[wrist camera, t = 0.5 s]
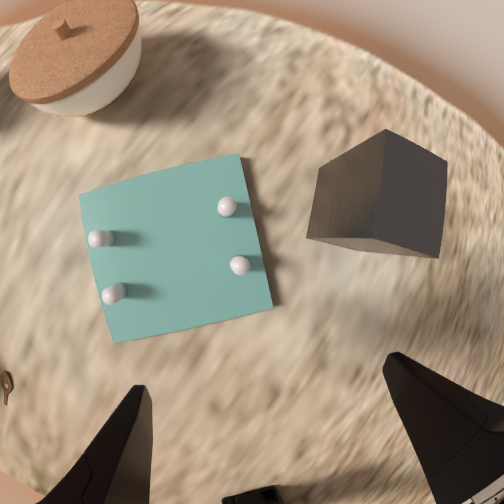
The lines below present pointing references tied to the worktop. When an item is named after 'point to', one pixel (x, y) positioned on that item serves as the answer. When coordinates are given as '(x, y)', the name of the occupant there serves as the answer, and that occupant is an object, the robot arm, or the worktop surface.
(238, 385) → the worktop surface
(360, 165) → the plate
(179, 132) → the worktop surface
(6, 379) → the place setting
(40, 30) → the lidded jar
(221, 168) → the pin tray
